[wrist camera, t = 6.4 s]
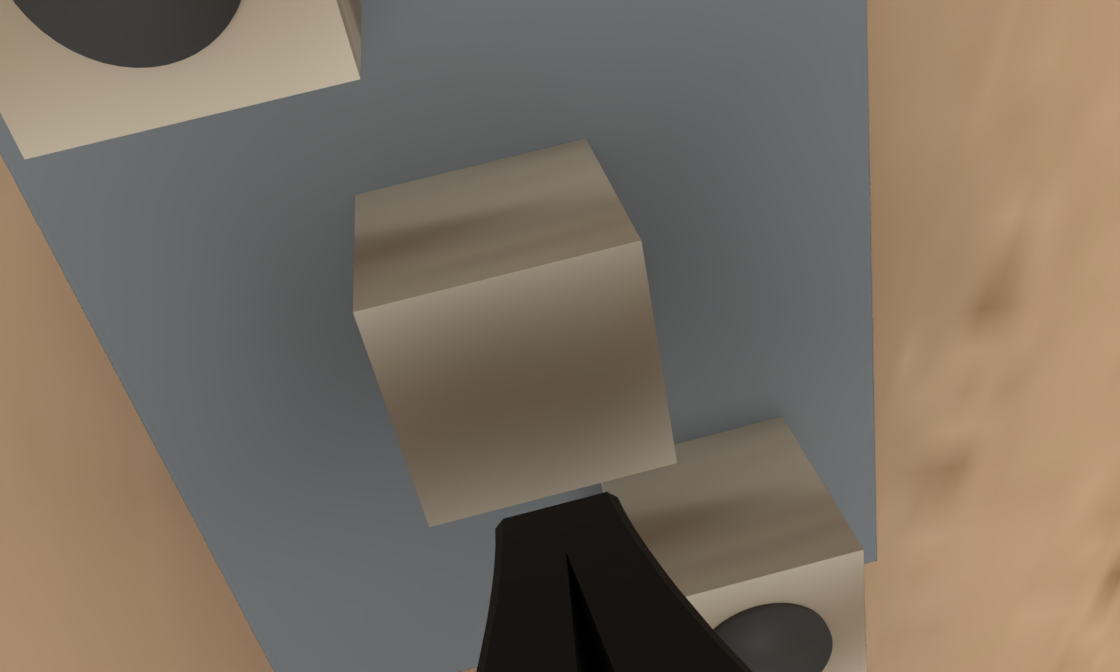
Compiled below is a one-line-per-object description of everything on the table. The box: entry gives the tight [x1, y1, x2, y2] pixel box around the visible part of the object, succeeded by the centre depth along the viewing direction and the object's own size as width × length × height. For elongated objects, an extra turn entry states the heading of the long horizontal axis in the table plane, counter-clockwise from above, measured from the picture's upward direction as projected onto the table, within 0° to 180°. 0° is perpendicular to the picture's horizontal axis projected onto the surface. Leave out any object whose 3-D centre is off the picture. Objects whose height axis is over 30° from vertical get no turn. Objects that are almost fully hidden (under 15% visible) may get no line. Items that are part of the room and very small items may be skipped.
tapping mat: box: [0, 0, 877, 672], centre depth 18 cm, size 20×14×1 cm
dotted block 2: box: [601, 417, 867, 672], centre depth 20 cm, size 4×4×4 cm
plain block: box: [353, 139, 677, 527], centre depth 16 cm, size 4×4×4 cm
